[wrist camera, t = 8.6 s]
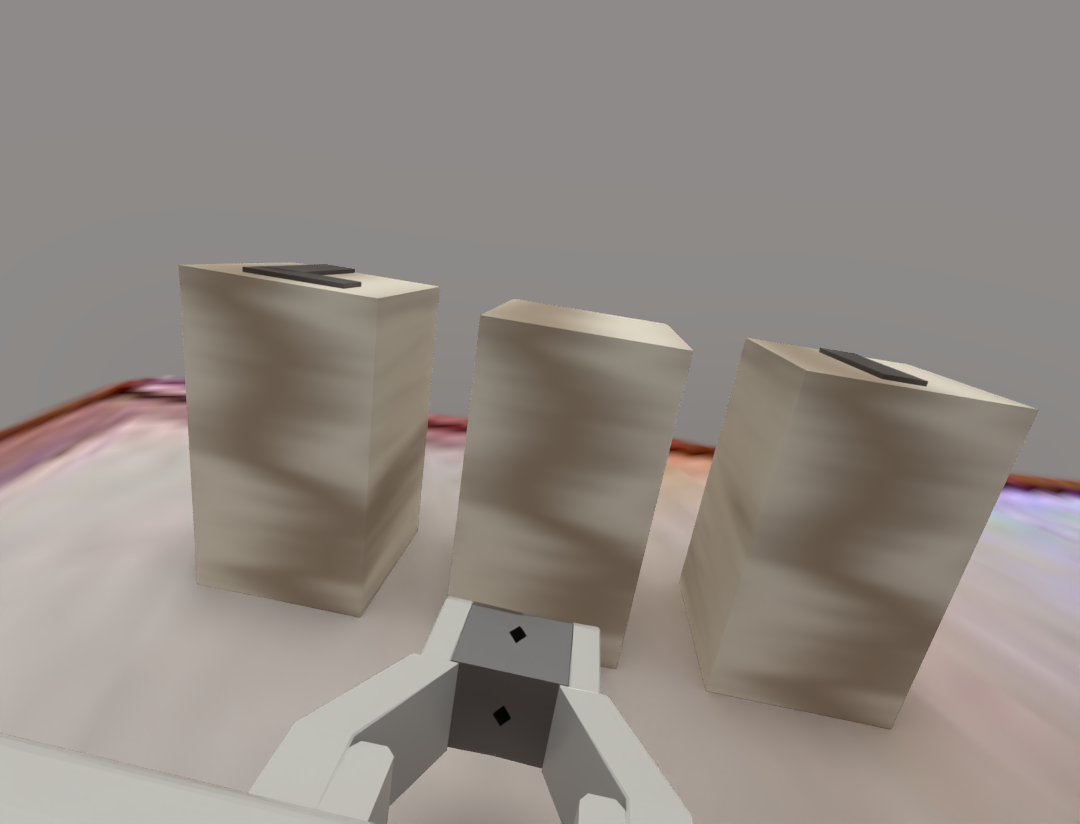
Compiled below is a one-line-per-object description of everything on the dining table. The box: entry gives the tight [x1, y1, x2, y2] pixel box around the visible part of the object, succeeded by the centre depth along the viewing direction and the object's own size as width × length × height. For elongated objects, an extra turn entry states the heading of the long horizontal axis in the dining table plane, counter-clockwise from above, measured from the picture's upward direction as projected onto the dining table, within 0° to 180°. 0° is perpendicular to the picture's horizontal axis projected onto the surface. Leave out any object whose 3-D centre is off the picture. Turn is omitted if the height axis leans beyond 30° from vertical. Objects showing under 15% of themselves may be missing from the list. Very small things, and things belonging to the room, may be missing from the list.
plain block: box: [448, 299, 694, 669], centre depth 19 cm, size 6×6×11 cm
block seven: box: [179, 263, 440, 617], centre depth 19 cm, size 6×6×11 cm
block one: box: [679, 338, 1039, 729], centre depth 18 cm, size 6×6×11 cm
